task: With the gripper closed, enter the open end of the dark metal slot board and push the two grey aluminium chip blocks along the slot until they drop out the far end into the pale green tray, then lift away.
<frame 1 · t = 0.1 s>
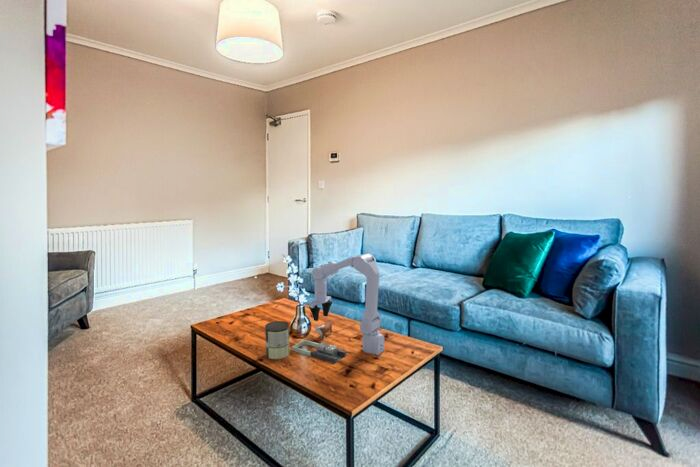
hand: (320, 318, 181), 10 cm above the table, tool pointing down, fingers open, 7 cm apart
tray: (307, 350, 168), on the table
bull figurine: (324, 339, 181), on the table
chip b: (323, 353, 163), point 1 cm above the table, touching slot board
slot board: (328, 357, 161), on the table
coffee can: (277, 356, 163), on the table
chip a: (331, 356, 160), point 1 cm above the table, touching slot board
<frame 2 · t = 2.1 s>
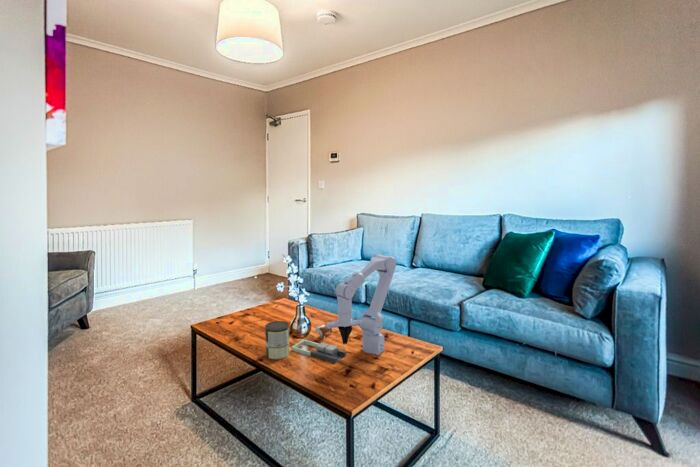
hand: (344, 343, 156), 8 cm above the table, tool pointing down, fingers closed
nothing on the table moved.
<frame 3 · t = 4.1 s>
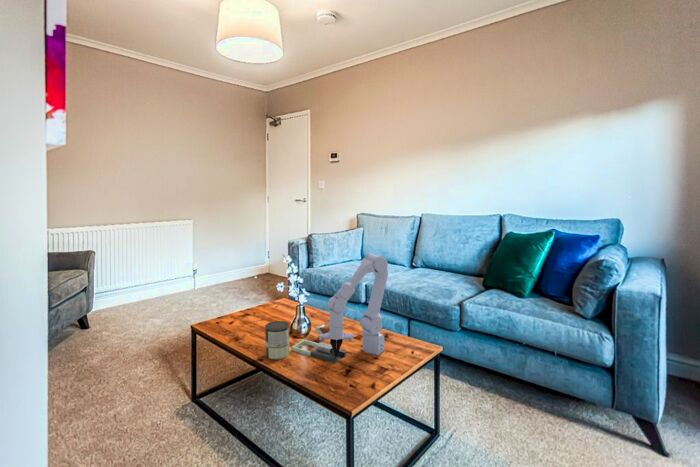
hand: (336, 355, 159), 2 cm above the table, tool pointing down, fingers closed
chip b: (321, 353, 163), point 1 cm above the table, touching chip a
chip a: (329, 355, 161), point 1 cm above the table, touching chip b, gripper, slot board
everything else where it was.
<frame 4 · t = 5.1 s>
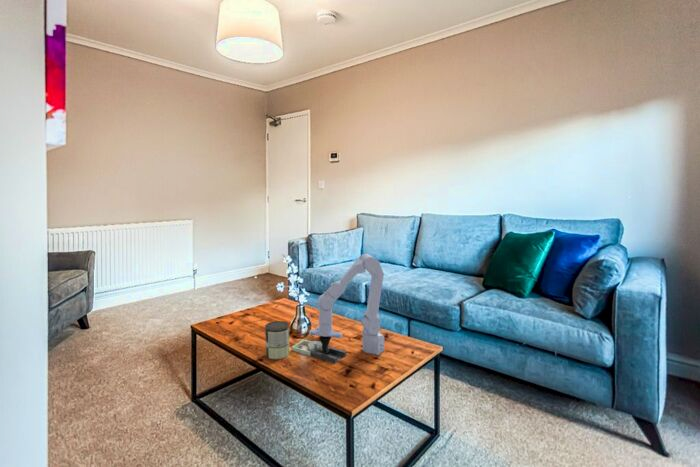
hand: (325, 352, 161), 2 cm above the table, tool pointing down, fingers closed, pressing on chip a
chip b: (315, 351, 166), point 1 cm above the table, tilted 8°, touching chip a, tray
chip a: (322, 352, 163), point 1 cm above the table, tilted 8°, touching chip b, gripper, slot board
everything else where it was.
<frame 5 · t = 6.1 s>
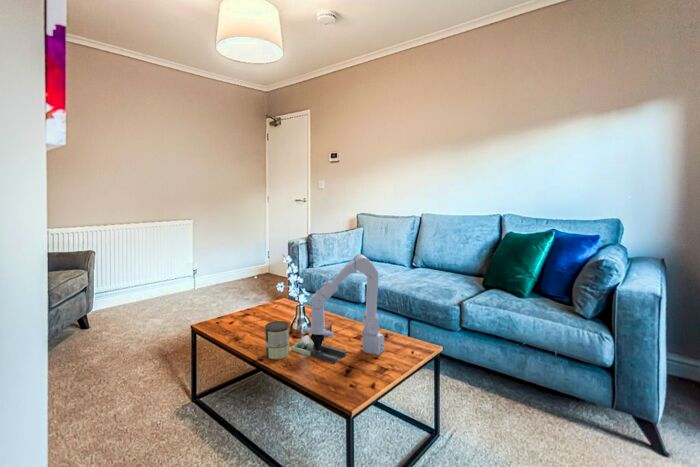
hand: (318, 350, 164), 2 cm above the table, tool pointing down, fingers closed
chip b: (302, 344, 170), point 2 cm above the table, tilted 47°, touching tray
chip a: (312, 350, 167), resting on tray, touching gripper
everything else where it was.
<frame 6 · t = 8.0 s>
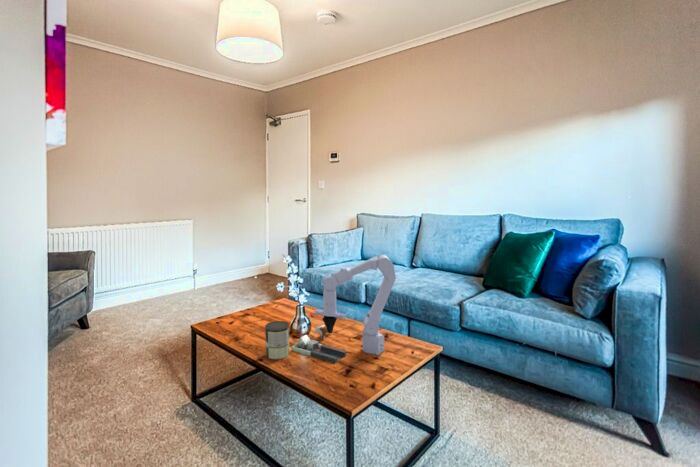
hand: (330, 332, 165), 9 cm above the table, tool pointing down, fingers closed
chip b: (301, 344, 170), point 2 cm above the table, tilted 42°, touching tray
chip a: (312, 350, 167), resting on tray
everything else where it was.
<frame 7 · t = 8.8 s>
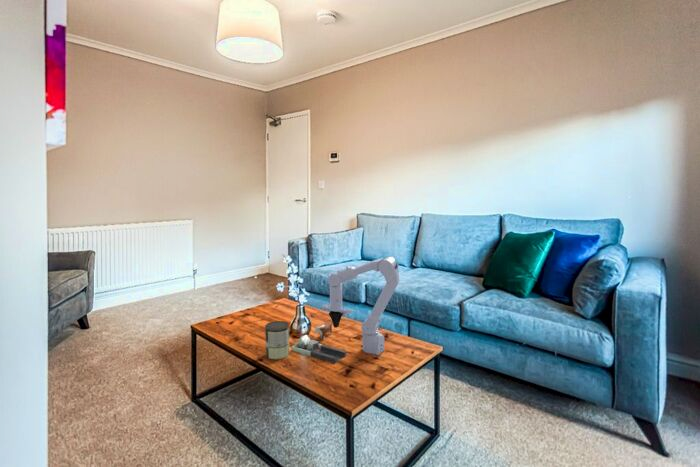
hand: (336, 326, 171), 9 cm above the table, tool pointing down, fingers closed
nothing on the table moved.
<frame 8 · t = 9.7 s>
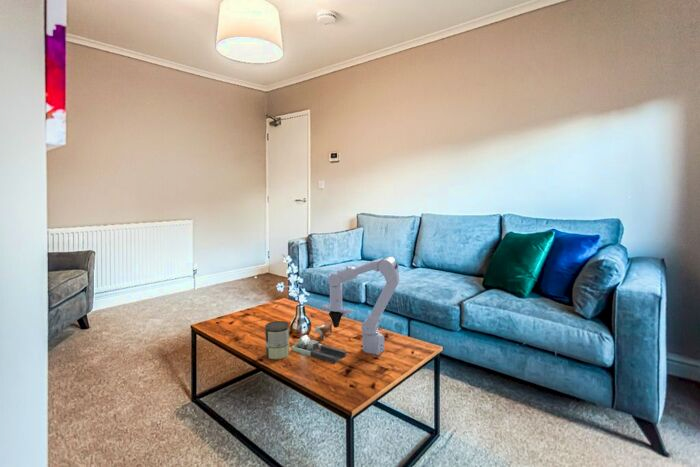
hand: (336, 326, 171), 9 cm above the table, tool pointing down, fingers closed
nothing on the table moved.
at the end: chip a inside the target area (2.6 cm from its centre), resting on tray; chip b inside the target area (3.9 cm from its centre), point 1.7 cm above the table; chip a touching tray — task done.
